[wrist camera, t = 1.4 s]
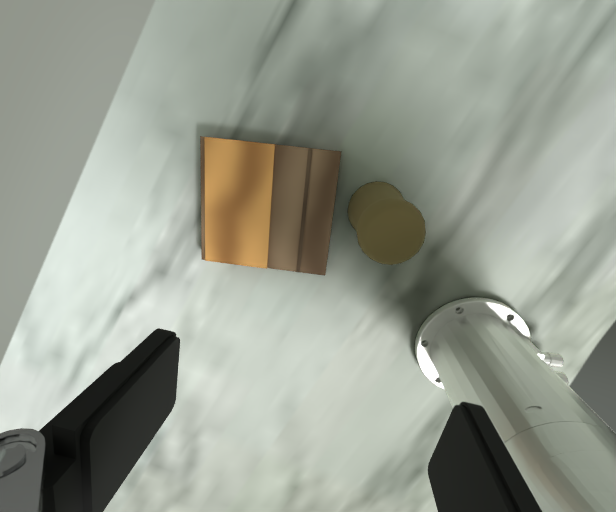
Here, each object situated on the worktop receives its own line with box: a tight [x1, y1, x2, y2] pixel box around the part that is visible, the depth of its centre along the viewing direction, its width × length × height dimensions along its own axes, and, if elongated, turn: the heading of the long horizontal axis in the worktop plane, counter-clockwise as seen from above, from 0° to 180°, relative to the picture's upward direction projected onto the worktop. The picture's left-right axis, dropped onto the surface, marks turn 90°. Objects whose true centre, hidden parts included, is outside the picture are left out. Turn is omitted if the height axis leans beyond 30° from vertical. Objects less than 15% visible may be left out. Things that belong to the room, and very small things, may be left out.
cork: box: [348, 181, 426, 265], centre depth 28 cm, size 6×6×11 cm
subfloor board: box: [200, 136, 341, 275], centre depth 33 cm, size 14×13×2 cm
